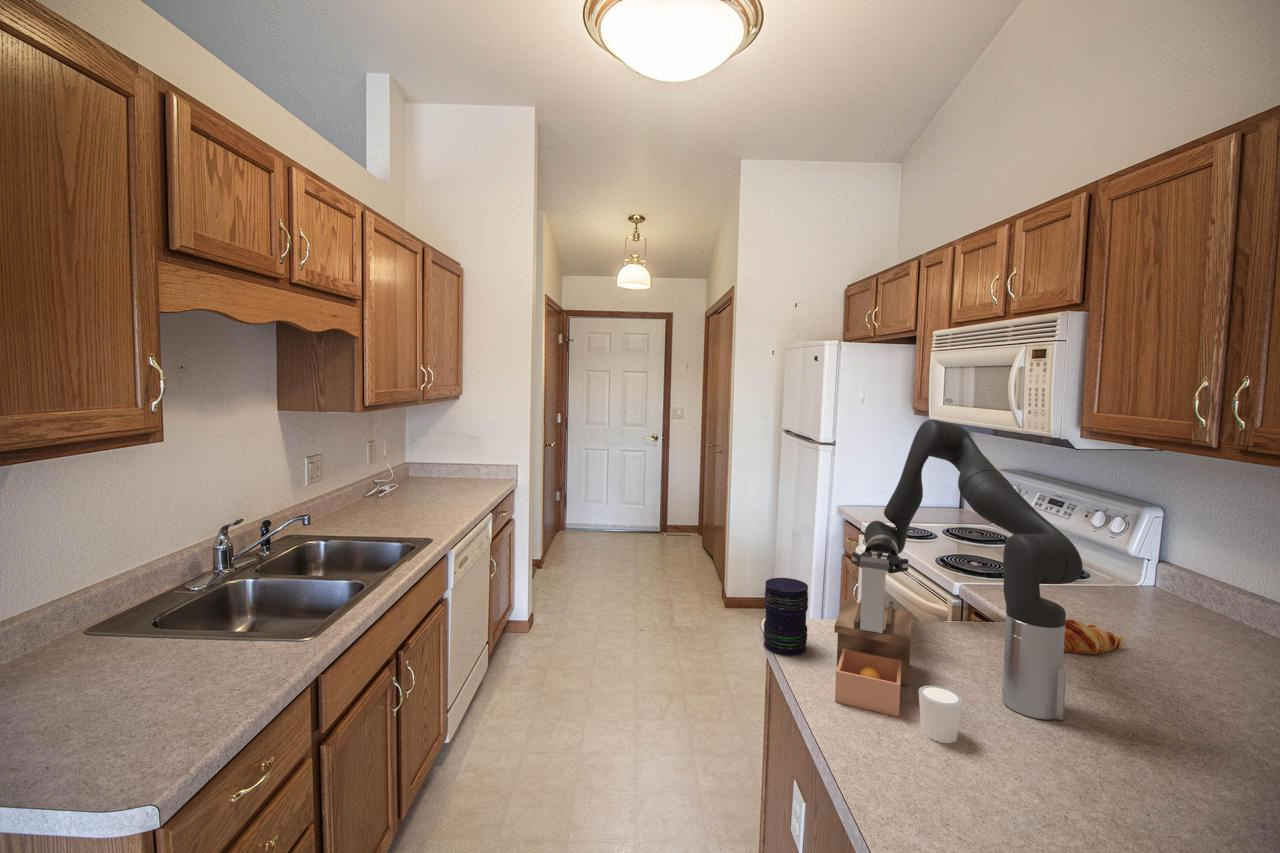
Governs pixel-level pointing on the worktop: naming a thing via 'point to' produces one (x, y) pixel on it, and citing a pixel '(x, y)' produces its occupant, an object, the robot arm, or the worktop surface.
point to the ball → (870, 672)
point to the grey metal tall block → (873, 593)
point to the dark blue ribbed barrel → (785, 616)
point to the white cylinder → (940, 713)
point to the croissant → (1089, 639)
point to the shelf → (876, 635)
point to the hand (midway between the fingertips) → (877, 571)
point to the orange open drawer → (869, 682)
